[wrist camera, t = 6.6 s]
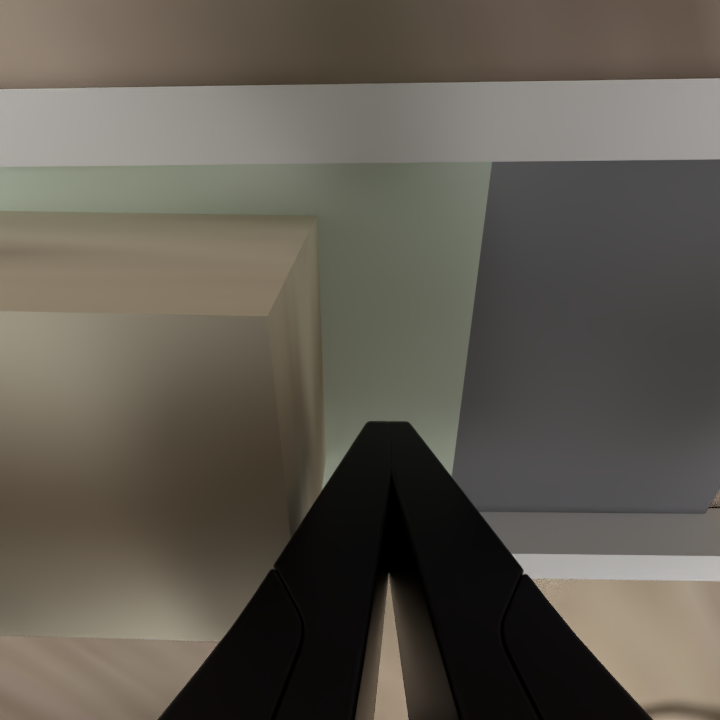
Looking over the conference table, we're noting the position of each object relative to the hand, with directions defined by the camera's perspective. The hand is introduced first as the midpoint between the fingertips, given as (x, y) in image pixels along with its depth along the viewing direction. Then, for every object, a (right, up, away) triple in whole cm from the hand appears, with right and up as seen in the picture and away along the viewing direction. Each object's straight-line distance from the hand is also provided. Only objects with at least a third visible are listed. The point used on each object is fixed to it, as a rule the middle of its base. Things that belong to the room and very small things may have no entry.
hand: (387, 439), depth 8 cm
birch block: (-4, +2, +2) cm, 5 cm away
